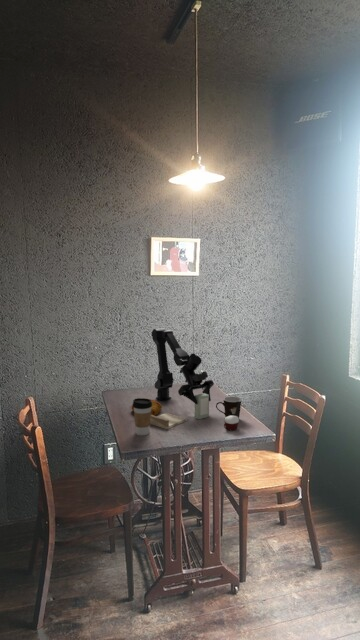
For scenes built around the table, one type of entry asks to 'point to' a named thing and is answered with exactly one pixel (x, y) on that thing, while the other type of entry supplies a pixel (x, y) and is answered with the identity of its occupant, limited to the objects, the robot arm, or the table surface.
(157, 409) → the croissant
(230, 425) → the cocoa
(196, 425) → the table surface
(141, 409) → the coffee cup
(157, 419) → the ledge board
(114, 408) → the table surface
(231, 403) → the coffee mug
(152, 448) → the table surface
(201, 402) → the sage green box
